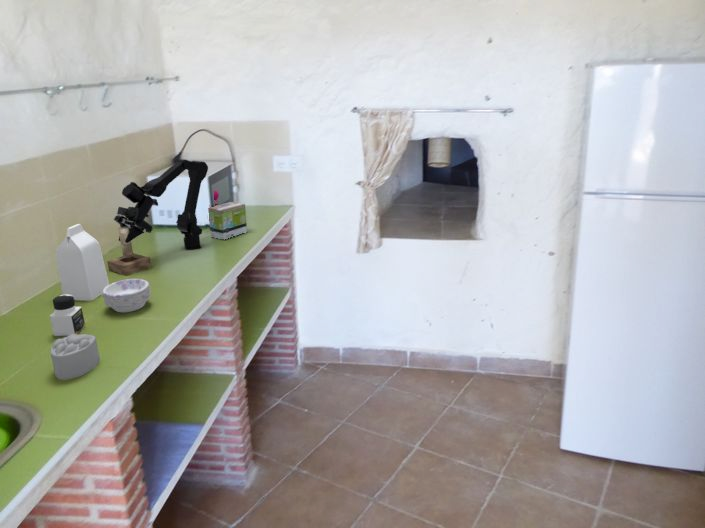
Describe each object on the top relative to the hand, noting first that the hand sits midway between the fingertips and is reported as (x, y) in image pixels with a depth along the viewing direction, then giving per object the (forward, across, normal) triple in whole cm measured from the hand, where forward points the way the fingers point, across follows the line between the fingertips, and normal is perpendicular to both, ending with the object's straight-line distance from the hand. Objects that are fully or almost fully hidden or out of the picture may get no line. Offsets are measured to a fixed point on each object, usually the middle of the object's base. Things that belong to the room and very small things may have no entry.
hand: (122, 241), depth 243 cm
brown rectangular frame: (+8, 0, +9) cm, 12 cm away
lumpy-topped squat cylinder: (+49, +60, -32) cm, 84 cm away
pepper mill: (-37, -18, +54) cm, 68 cm away
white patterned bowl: (+25, +35, -8) cm, 44 cm away
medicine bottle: (+41, +36, -24) cm, 59 cm away
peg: (+4, 0, +6) cm, 7 cm away
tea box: (-31, 0, +48) cm, 57 cm away
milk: (+26, +10, -8) cm, 29 cm away
